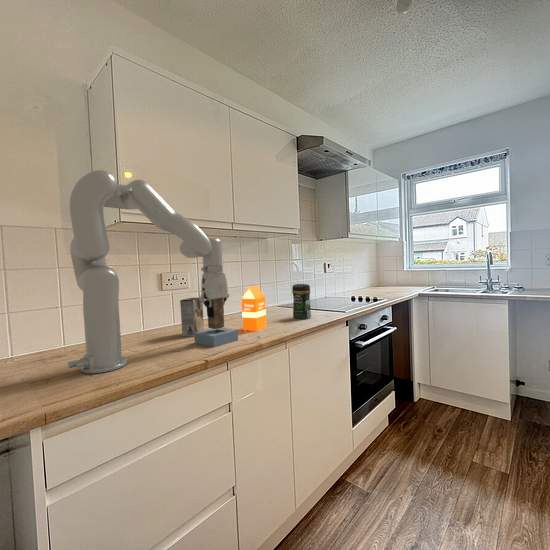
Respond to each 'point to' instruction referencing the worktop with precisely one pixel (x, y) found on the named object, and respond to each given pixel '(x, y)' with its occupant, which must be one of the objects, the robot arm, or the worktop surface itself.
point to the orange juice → (253, 309)
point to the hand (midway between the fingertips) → (215, 315)
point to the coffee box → (191, 316)
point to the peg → (216, 314)
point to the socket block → (216, 336)
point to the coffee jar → (301, 301)
